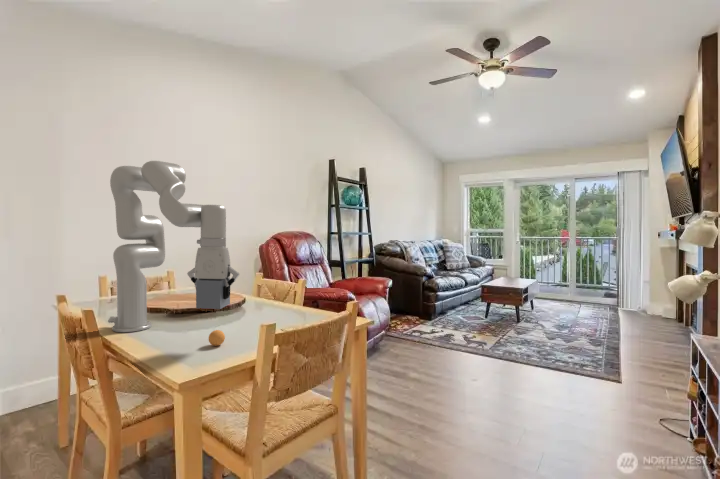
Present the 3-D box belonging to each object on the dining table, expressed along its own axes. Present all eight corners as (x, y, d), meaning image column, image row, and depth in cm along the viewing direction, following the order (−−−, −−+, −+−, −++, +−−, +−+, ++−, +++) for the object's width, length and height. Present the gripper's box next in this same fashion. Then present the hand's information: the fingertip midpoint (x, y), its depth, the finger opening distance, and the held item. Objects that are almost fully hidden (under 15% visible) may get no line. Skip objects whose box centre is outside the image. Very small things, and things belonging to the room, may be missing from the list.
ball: (204, 340, 121) (209, 327, 125) (209, 349, 124) (213, 336, 128) (220, 339, 121) (224, 326, 124) (224, 348, 124) (228, 335, 128)
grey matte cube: (196, 308, 119) (196, 280, 119) (207, 303, 127) (207, 276, 126) (220, 309, 119) (220, 280, 118) (230, 303, 126) (229, 277, 126)
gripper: (180, 243, 118) (180, 299, 119) (235, 244, 118) (235, 301, 118) (192, 242, 126) (192, 295, 127) (244, 243, 125) (244, 296, 126)
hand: (213, 297), depth 122 cm, fingers closed on grey matte cube, 7 cm apart
